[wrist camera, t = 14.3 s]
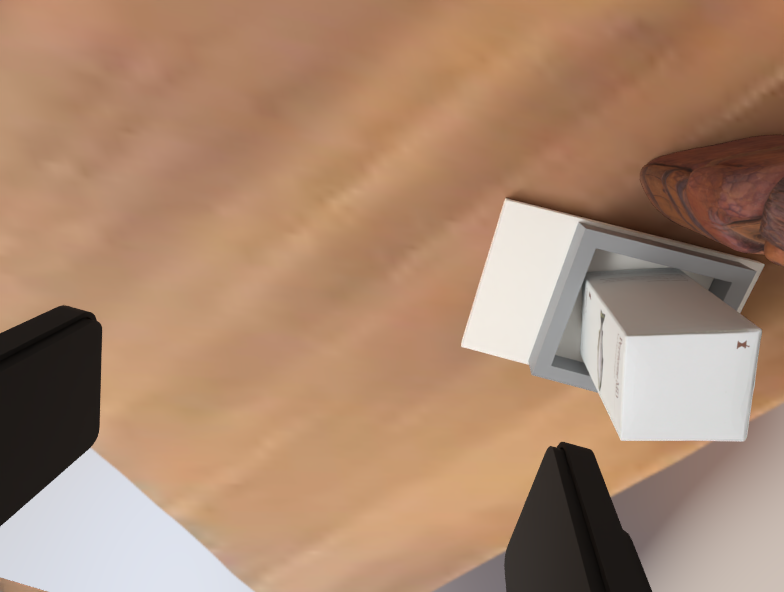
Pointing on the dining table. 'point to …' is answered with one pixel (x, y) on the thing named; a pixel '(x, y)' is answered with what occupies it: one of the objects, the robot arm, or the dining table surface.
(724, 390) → the supplement box
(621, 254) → the caddy
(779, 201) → the wooden figurine
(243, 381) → the dining table surface
